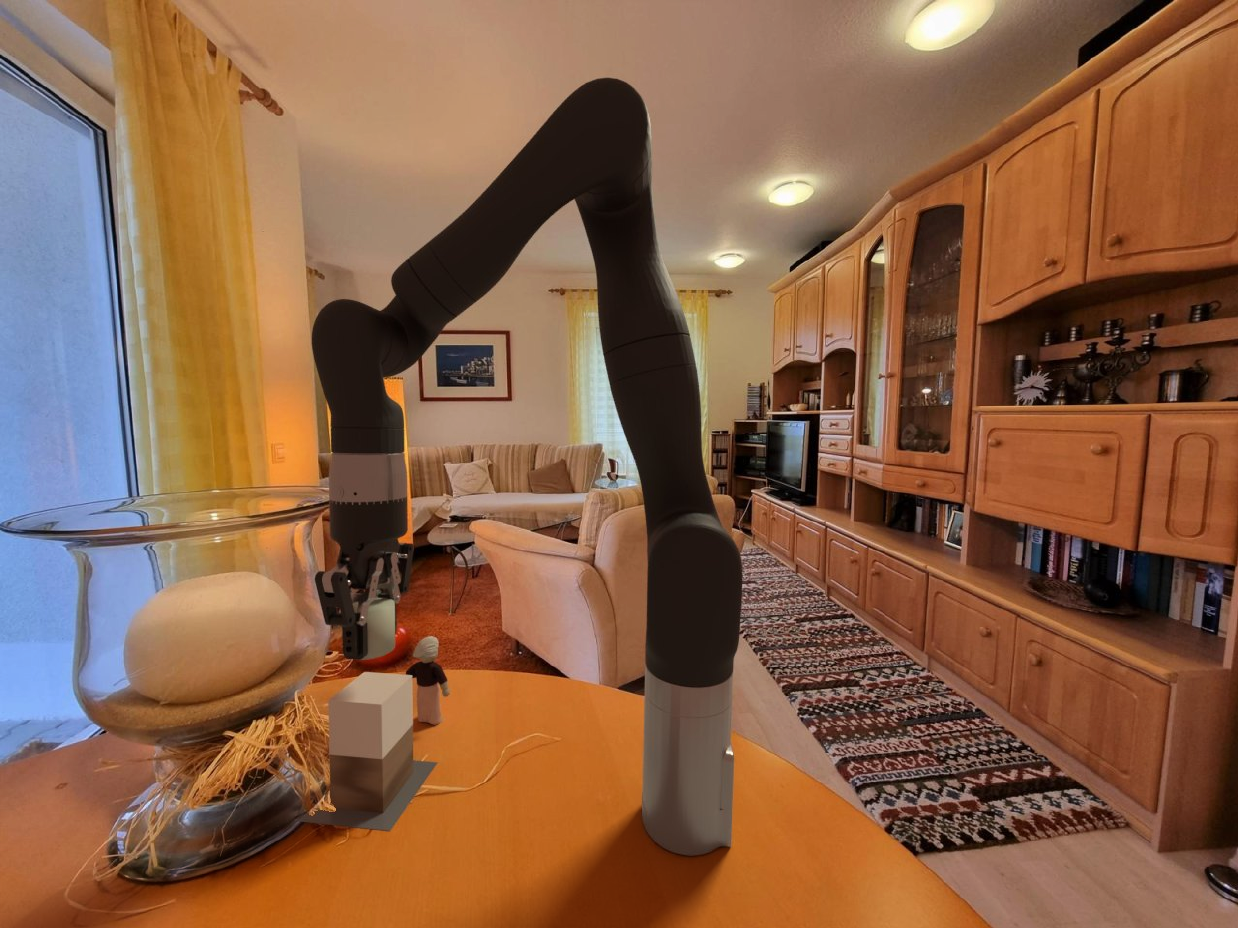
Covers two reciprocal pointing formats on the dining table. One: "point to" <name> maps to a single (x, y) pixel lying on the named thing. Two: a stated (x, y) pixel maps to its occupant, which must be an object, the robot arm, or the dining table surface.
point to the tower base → (371, 777)
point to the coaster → (373, 818)
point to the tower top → (370, 715)
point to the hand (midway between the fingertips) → (371, 645)
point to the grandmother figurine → (428, 681)
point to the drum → (380, 627)
